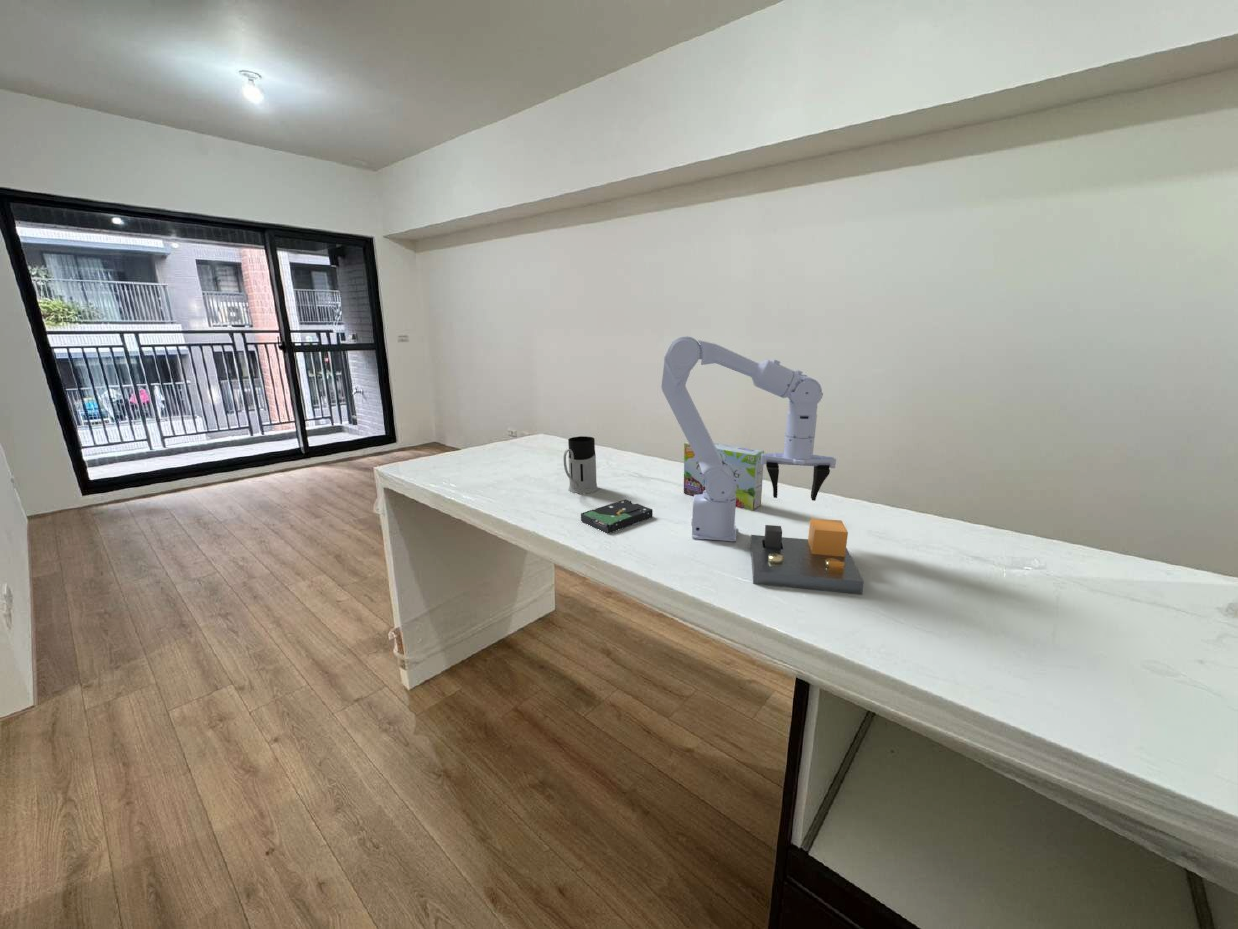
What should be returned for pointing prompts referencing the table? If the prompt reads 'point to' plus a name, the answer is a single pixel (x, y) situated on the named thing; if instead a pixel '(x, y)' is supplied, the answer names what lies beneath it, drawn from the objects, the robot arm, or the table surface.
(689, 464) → the snack box
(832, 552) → the cap
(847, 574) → the grey flat slab
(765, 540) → the block
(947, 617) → the table surface
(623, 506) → the disk drive
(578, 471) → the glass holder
